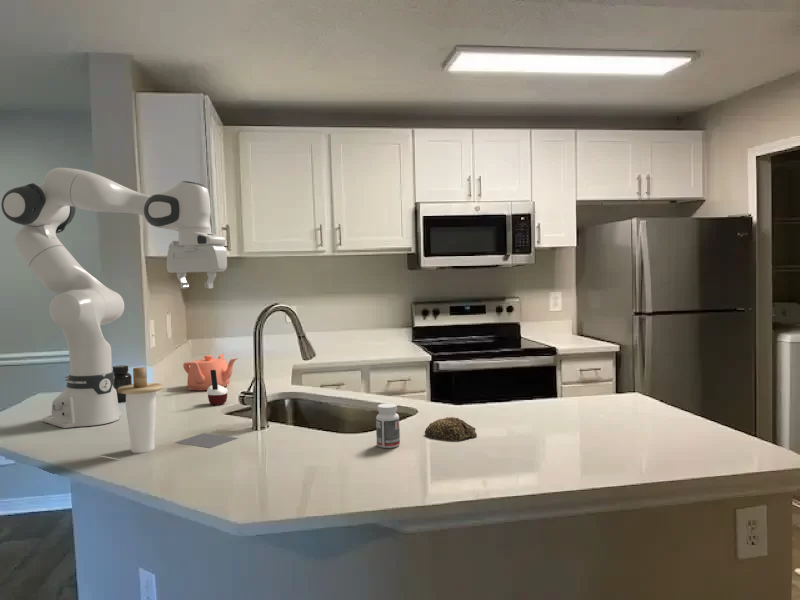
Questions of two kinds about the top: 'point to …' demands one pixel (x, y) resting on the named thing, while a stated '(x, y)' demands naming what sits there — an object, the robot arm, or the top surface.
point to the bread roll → (450, 429)
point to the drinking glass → (141, 421)
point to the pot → (208, 372)
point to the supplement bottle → (121, 380)
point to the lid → (140, 383)
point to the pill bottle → (387, 426)
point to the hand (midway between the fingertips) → (196, 288)
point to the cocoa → (216, 391)
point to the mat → (206, 440)
